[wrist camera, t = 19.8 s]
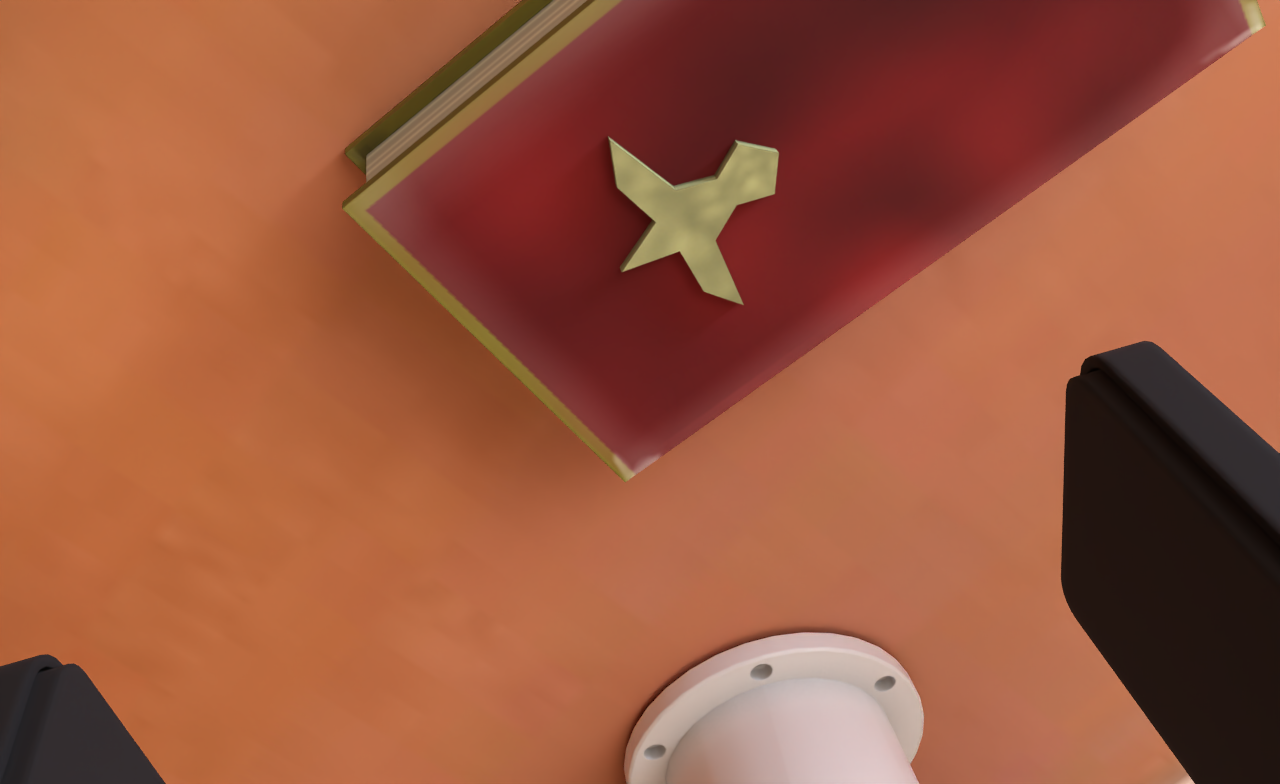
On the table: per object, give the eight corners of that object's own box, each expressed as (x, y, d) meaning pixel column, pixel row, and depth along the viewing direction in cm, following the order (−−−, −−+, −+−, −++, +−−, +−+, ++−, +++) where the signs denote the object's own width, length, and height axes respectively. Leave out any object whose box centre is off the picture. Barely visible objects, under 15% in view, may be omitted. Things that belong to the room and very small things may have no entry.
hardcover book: (1181, -1, 33) (1277, 41, 29) (610, 416, 37) (635, 496, 33) (1016, -414, 26) (1113, -422, 23) (345, 148, 30) (341, 213, 27)
